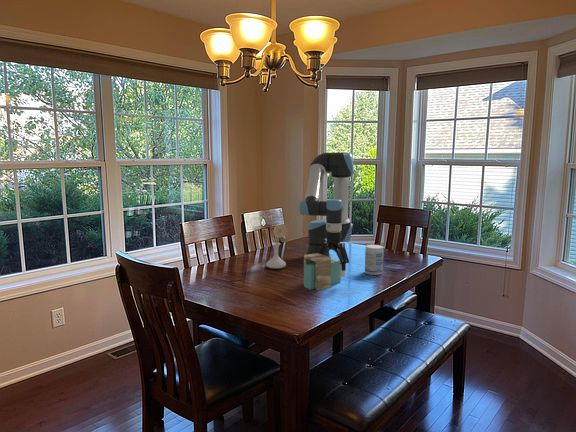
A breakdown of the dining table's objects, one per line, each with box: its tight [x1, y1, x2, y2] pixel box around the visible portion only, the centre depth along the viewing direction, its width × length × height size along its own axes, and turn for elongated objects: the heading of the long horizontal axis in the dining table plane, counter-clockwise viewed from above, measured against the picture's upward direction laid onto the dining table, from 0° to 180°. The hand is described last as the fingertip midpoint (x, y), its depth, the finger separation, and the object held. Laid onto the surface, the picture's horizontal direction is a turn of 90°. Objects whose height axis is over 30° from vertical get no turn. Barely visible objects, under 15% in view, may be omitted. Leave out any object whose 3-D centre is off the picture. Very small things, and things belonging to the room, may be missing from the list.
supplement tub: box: [364, 244, 384, 276], centre depth 224 cm, size 10×10×15 cm
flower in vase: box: [265, 223, 289, 269], centre depth 233 cm, size 13×11×25 cm
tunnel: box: [303, 253, 332, 291], centre depth 201 cm, size 11×8×15 cm
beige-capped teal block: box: [303, 258, 342, 291], centre depth 203 cm, size 5×19×11 cm, turn 125°
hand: (332, 273), depth 206 cm, fingers open, 13 cm apart
